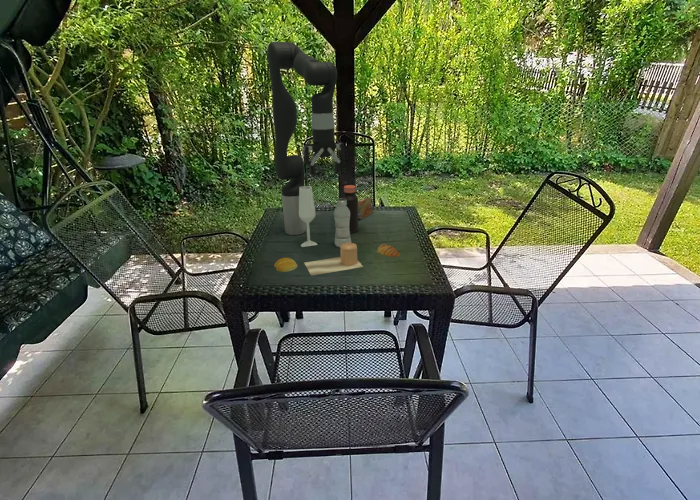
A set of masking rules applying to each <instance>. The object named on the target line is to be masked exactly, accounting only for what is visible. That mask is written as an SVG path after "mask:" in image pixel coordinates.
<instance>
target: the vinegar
mask: <svg viewBox="0 0 700 500" xmlns="http://www.w3.org/2000/svg"><path fill="white" fill-rule="evenodd" d="M343 193H344V195H343V196H342V197H341V199H346V200H347V205H346V206H347V207H348V209H349V210H350V221H349V231H350V234H355V233H357V232H358V231H359V219H358V201H359V197H358V196H357V195H356V185H353V184H350V185H349V184H347V185H344V186H343Z"/></svg>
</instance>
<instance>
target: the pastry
mask: <svg viewBox="0 0 700 500" xmlns="http://www.w3.org/2000/svg"><path fill="white" fill-rule="evenodd" d="M376 253H378V254H380V255H382V256H387V257H391V258H397V257H400V255H401V254H400V252H399V251H398V250H397V248H395V247H394V246H391V245H387V244H385V243H383V244H381V245H380V246H378V247H377V250H376Z"/></svg>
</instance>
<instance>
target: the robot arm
mask: <svg viewBox="0 0 700 500" xmlns="http://www.w3.org/2000/svg"><path fill="white" fill-rule="evenodd" d="M267 62H268V70H269V78H270V84H271V96H272V97H271V98H272V99H271V100H272V101H271V102H272V117H273V127H274V142H275V143H274V145H275V146H274V168H275V174H276V176H277V178H278V179H279V180H282V181H284V180H288V182H287V183H286V184H285V185H283V186H282V187H281V189H280V190H281V201H282V203H281V204H282V212H283V224H284V226H283V227H284V233H285V234H287V235H289V236H290V235H291V236H297V235H303V234H304V233H307V227H306V222H304V221H303V220H301V218H300V217H299V188H300V187H302V186H305V165H304V164H306V165H308V166H309V173H310V175H311V176H312V177H316V168H315V167H316V166H315V163H316V161H318V160H319V158H320V159H323V158H332V159H333V160H334V161H335V162H334V173H335V174H336V175H338V174H339V173H340V172H341V163H342V162H345V161H346V155H345V144H344V143H343V142H338V143H336V139H335V127H336V126H335V117H334V103H333V101H334V100H333V99H334V95H335V89H336V85H337V80H338V70H337V67H336V65H335V64H334V62H332V61H319V60H317V58H315V57H313V56H311V55H308V54H306V53H305V52H304V51H303V50H302V49H301V48H300V47H299V46H298V45H297V44H295V43H294V42H290V41H271V42H269V43H268V45H267ZM291 69H294V72H296V74H297V75H299V76H300V77H302V78H303V79H304V81H305V83H306V84H307V85H309V86H311V87H318V86H319V87H320V86H321V87H322V86H323V87H322V90H321V91H320V92H317V93H314V94H313V95H312V96H311V99H310V100H311V102H310V103H311V133H312V134H311V136H312V145H303V159H302V157H301V156H300V155H298V154H291V155H288V149H289V148H288V147H289V143H290V141H291V138H292V137H293V134H294V132H295V131H296V127H297V124H298V108H297V103H296V102H295V101H294V98H293V97H292V95H291V94H290V92H289V90H288V89H287V87H286V86H285V84H284V81H283V79H282V74H281V73H282V72H281V70H291ZM335 150H338V153H339V157H338V156H337V154H336V153H335ZM311 151H313V154H312V156H311V158H310V157H309V156H310V154H309V153H310V152H311ZM309 158H310V159H309Z"/></svg>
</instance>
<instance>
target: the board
mask: <svg viewBox="0 0 700 500" xmlns="http://www.w3.org/2000/svg"><path fill="white" fill-rule="evenodd" d="M303 264H304V265H305V267H306V269H307V271H308V272H309V274H310V276H317V275H323V274H329V273H330V274H331V273H334V272H336V273H337V272H340V271H341V272H342V271H346V270H347V271H348V270H353V269H359V268H364V266H363V265H362V263H361V262H360V260H359V259H357V264H355V265H351V266H346V265H343V264H342V263H341V256H337V257H336V256H335V257H331V258H325V259H318V260H313V261H306V262H303Z"/></svg>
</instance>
